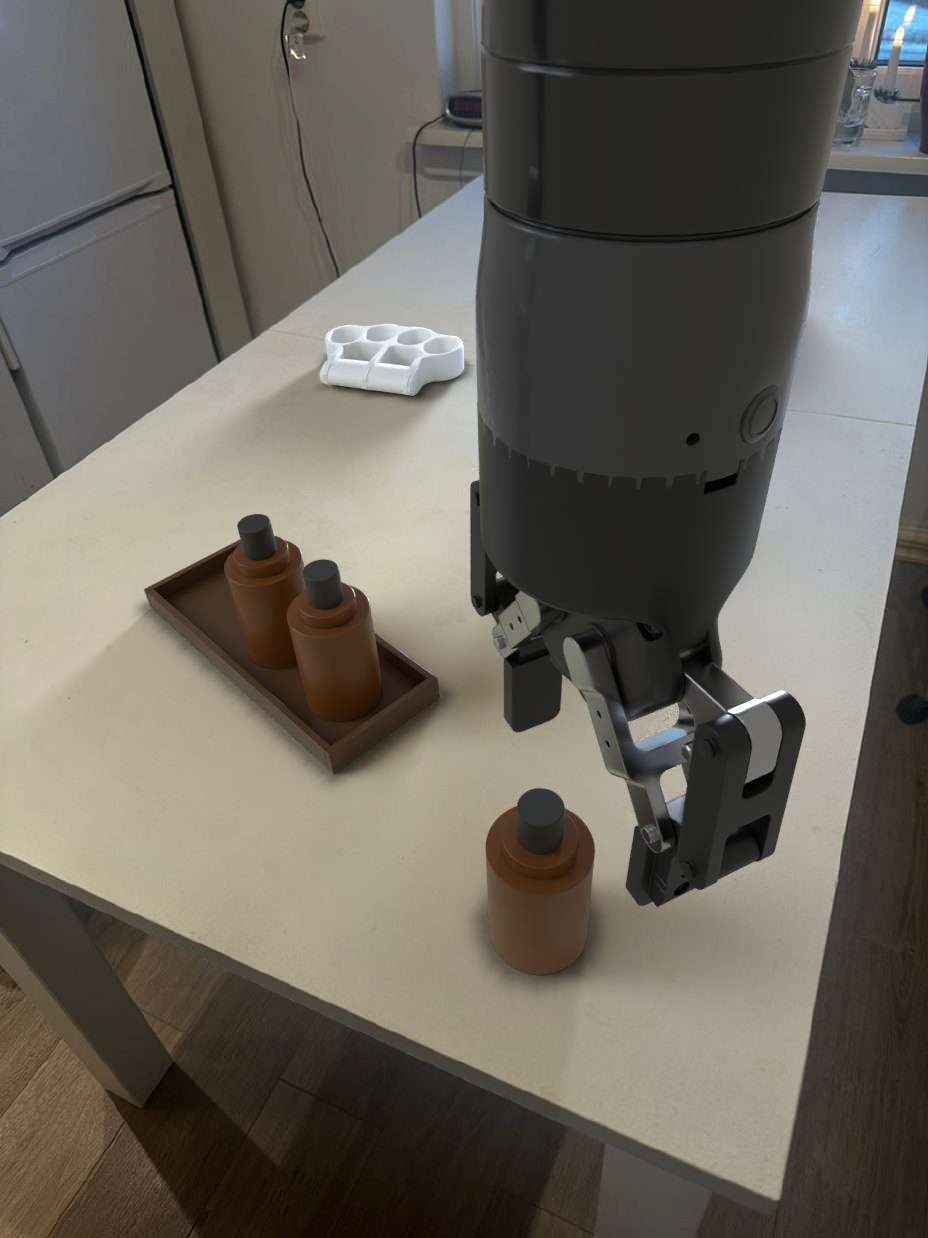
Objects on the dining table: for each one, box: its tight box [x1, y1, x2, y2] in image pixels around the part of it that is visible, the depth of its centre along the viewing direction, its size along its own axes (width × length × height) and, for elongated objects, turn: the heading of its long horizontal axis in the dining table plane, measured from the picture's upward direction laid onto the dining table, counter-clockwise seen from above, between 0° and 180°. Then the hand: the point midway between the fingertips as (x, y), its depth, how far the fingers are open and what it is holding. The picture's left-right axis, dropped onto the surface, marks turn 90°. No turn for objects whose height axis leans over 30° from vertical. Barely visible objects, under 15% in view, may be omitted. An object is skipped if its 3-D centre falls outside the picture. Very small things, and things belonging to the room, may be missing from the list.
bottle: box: [484, 787, 596, 976], centre depth 48 cm, size 6×6×12 cm
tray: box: [143, 538, 440, 775], centre depth 70 cm, size 26×10×2 cm, turn 44°
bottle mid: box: [224, 513, 306, 669], centre depth 67 cm, size 6×6×12 cm
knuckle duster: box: [319, 323, 465, 397], centre depth 107 cm, size 3×18×15 cm
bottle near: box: [287, 558, 383, 722], centre depth 62 cm, size 6×6×12 cm
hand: (589, 797), depth 32 cm, fingers open, 8 cm apart
